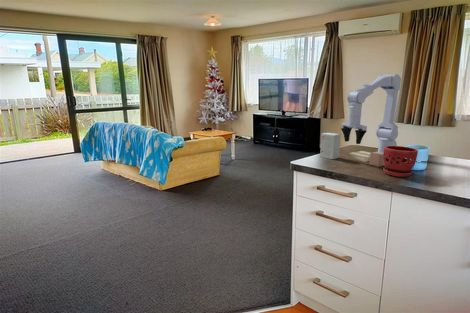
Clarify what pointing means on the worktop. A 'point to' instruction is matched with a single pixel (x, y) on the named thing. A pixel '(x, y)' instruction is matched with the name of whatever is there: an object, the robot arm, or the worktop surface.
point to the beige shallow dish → (360, 156)
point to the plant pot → (399, 160)
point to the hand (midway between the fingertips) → (352, 142)
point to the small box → (330, 145)
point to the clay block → (376, 159)
